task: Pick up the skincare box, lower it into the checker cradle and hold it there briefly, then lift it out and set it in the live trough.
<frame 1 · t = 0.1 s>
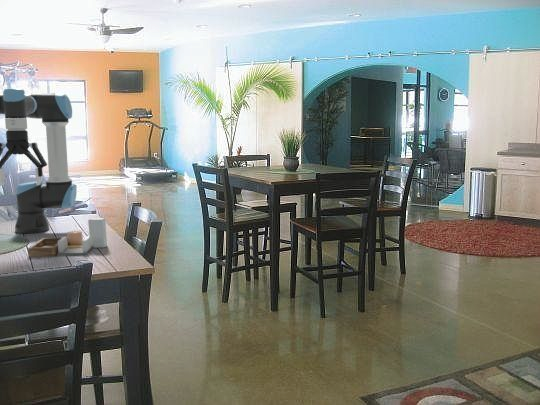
hand: (20, 185, 215), 28 cm above the table, fingers open, 13 cm apart
wooden block: (75, 246, 234), on the table
checker cradle: (75, 251, 225), on the table
live trough: (48, 251, 226), on the table
skincare box: (98, 247, 233), on the table
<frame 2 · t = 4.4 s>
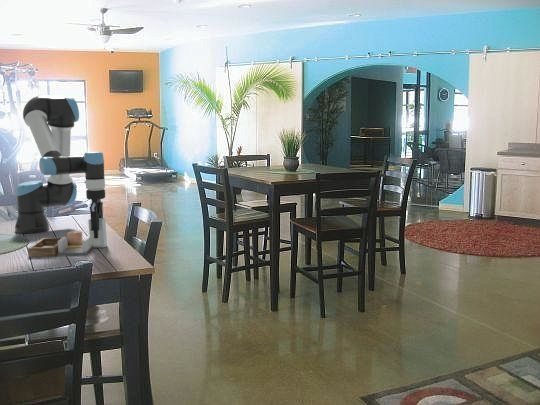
hand: (98, 243, 233), 1 cm above the table, fingers closed on skincare box, 4 cm apart
skincare box: (98, 247, 233), on the table, touching gripper
everything else where it was.
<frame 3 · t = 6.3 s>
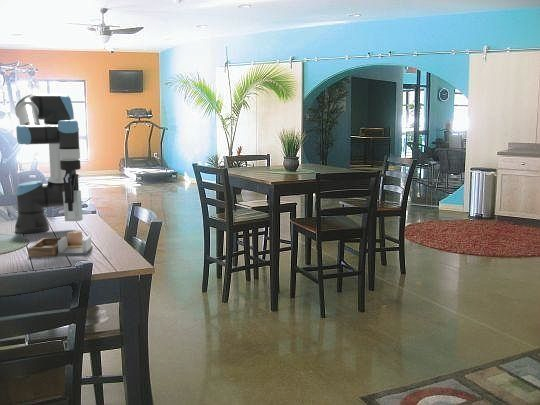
hand: (73, 217, 222), 14 cm above the table, fingers closed on skincare box, 4 cm apart
skincare box: (73, 221, 222), point 13 cm above the table, touching gripper
everything else where it was.
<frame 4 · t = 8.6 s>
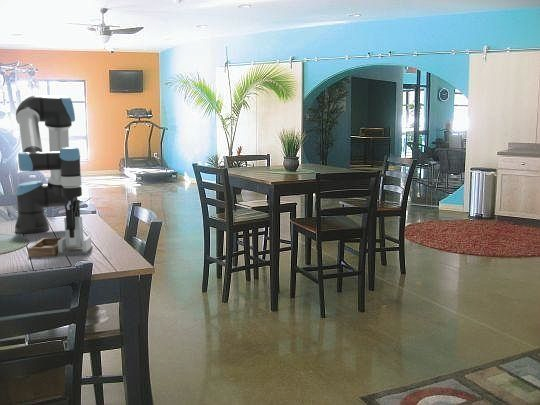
hand: (74, 243, 224), 3 cm above the table, fingers closed on skincare box, 4 cm apart
skincare box: (74, 247, 224), point 2 cm above the table, touching gripper
everything else where it was.
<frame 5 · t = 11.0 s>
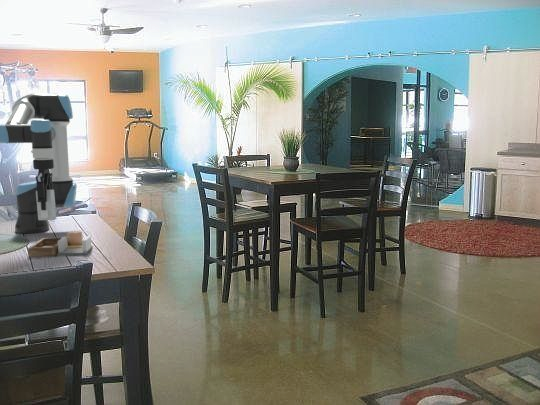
hand: (46, 216, 223), 14 cm above the table, fingers closed on skincare box, 4 cm apart
skincare box: (47, 220, 223), point 13 cm above the table, touching gripper
everything else where it was.
when the fingers open (4 cm above the table, at t = 13.1 s): skincare box drops 1 cm, resting on live trough.
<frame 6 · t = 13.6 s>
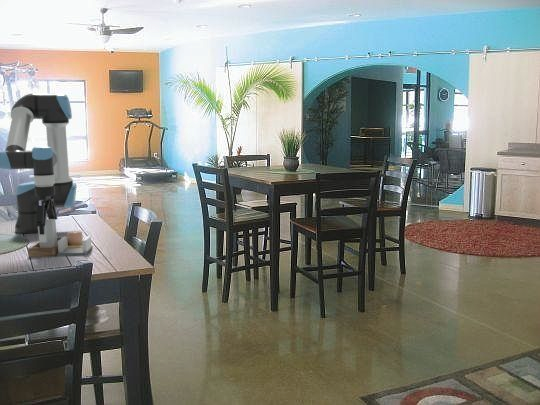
hand: (48, 238, 225), 5 cm above the table, fingers open, 11 cm apart
skincare box: (48, 249, 225), point 1 cm above the table, touching live trough
everything else where it was.
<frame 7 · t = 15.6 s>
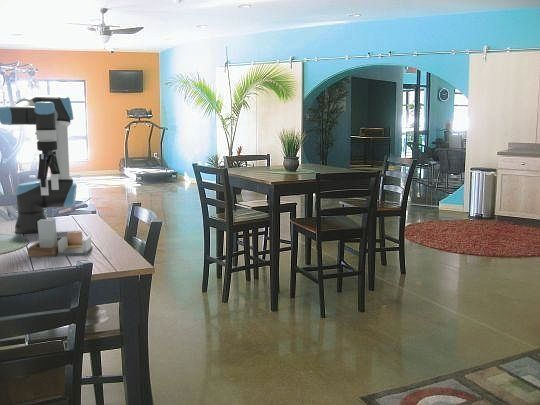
hand: (50, 192, 228), 23 cm above the table, fingers open, 13 cm apart
nothing on the table moved.
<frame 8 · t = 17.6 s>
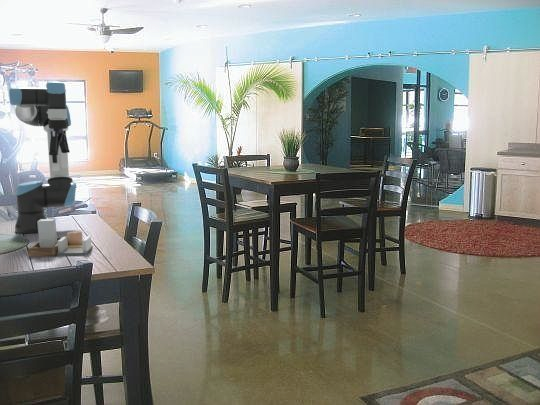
hand: (60, 169, 238), 32 cm above the table, fingers open, 13 cm apart
nothing on the table moved.
at the end: skincare box inside the target area on the live trough (0.3 cm from its centre), point 0.8 cm above the live trough's base; skincare box tilted 0°; the gripper is holding nothing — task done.
